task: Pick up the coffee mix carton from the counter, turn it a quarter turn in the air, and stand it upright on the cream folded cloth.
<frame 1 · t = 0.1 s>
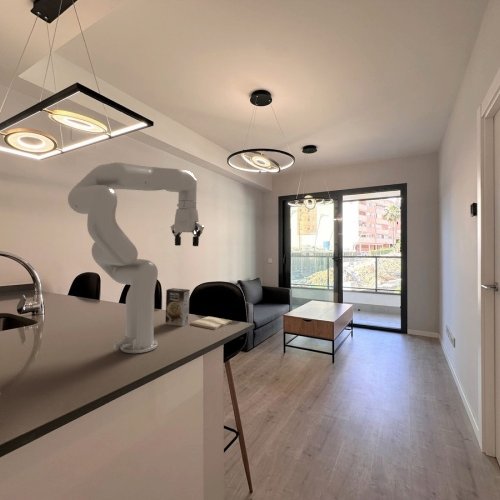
hand: (186, 245, 124), 37 cm above the counter, tool pointing down, fingers open, 9 cm apart
coffee box: (177, 324, 135), on the counter
cream folded cloth: (211, 323, 136), on the counter
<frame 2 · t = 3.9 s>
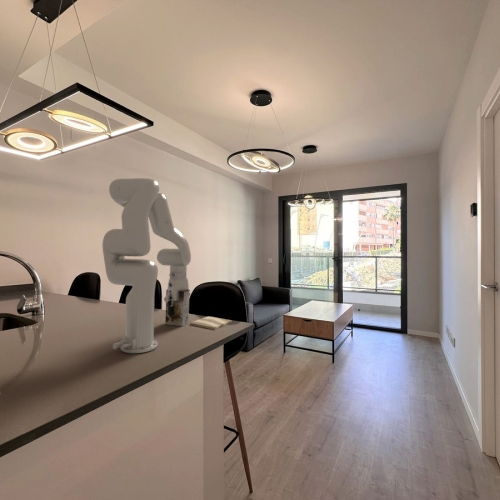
hand: (177, 312, 135), 5 cm above the counter, tool pointing down, fingers closed on coffee box, 7 cm apart
coffee box: (177, 324, 135), on the counter, touching gripper
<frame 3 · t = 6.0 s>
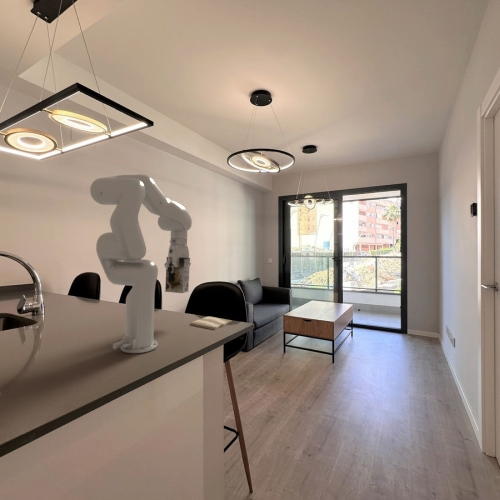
hand: (177, 280, 134), 20 cm above the counter, tool pointing down, fingers closed on coffee box, 7 cm apart
coffee box: (177, 292, 134), point 15 cm above the counter, touching gripper
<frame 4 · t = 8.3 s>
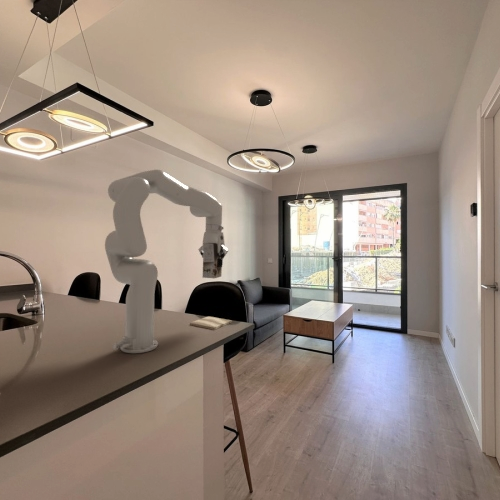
hand: (212, 266, 136), 27 cm above the counter, tool pointing down, fingers closed on coffee box, 7 cm apart
coffee box: (212, 277, 136), point 22 cm above the counter, touching gripper
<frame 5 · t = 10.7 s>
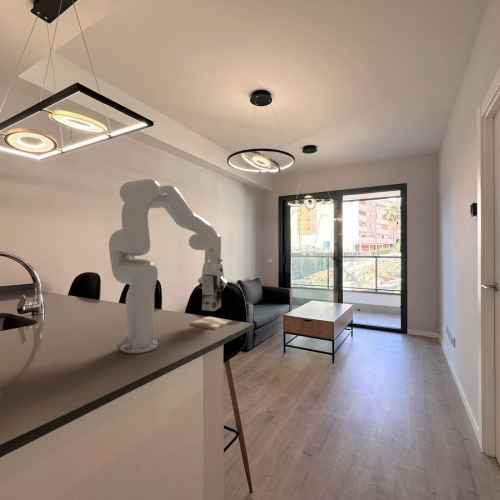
hand: (211, 297, 136), 12 cm above the counter, tool pointing down, fingers closed on coffee box, 7 cm apart
coffee box: (211, 309, 136), point 7 cm above the counter, touching gripper
when the fingers open (8 cm above the counter, at t = 12.7 s): coffee box drops 2 cm, resting on cream folded cloth.
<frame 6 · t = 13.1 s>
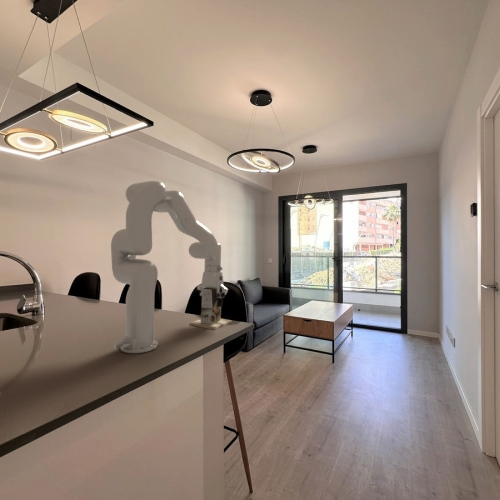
hand: (211, 305, 136), 9 cm above the counter, tool pointing down, fingers open, 9 cm apart
coffee box: (210, 321, 136), point 1 cm above the counter, touching cream folded cloth
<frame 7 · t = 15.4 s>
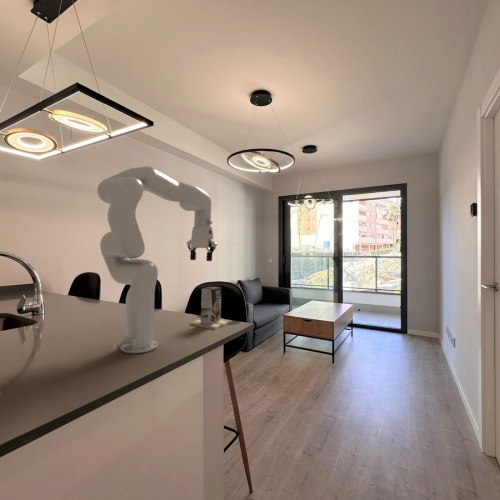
hand: (200, 260, 134), 30 cm above the counter, tool pointing down, fingers open, 9 cm apart
nothing on the counter moved.
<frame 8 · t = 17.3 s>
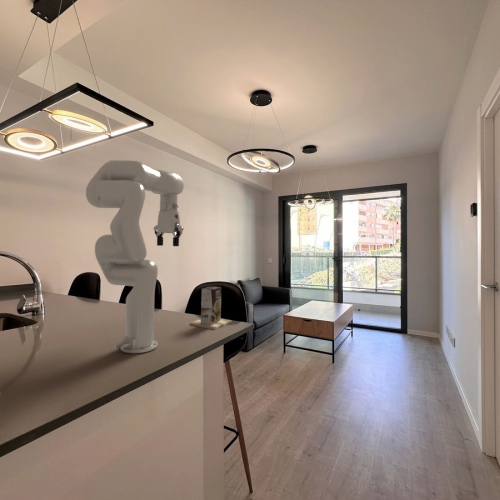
hand: (167, 245, 130), 36 cm above the counter, tool pointing down, fingers open, 9 cm apart
nothing on the counter moved.
at the end: coffee box inside the target area on the cream folded cloth (0.3 cm from its centre), point 0.8 cm above the cream folded cloth's base; coffee box tilted 0°; the gripper is holding nothing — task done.
